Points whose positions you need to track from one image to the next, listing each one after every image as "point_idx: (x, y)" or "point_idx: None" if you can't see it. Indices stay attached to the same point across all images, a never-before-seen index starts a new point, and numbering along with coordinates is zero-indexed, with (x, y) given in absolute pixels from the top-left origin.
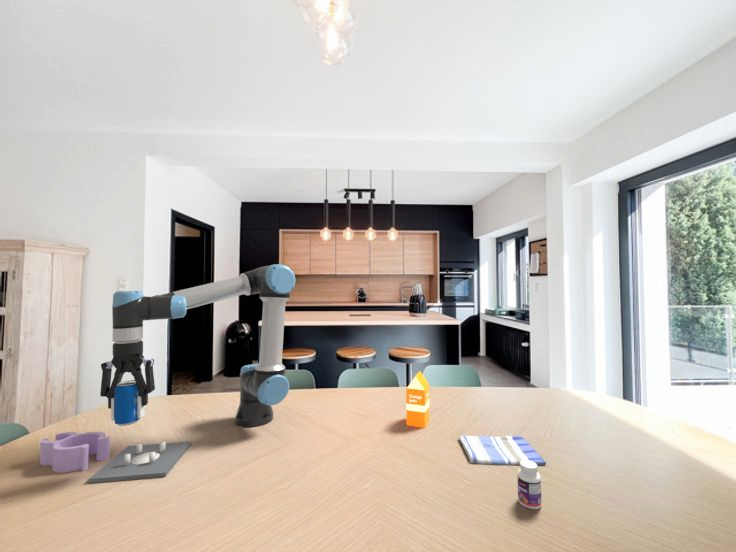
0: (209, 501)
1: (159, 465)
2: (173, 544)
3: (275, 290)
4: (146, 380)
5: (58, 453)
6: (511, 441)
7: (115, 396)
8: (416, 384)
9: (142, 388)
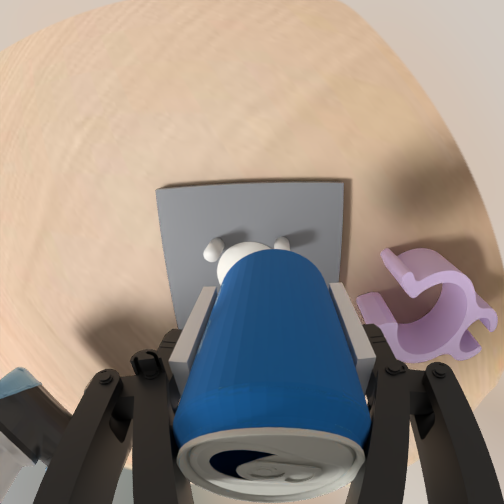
0: (53, 105)
1: (189, 228)
2: (76, 16)
3: None
4: (83, 445)
5: (455, 268)
6: None
7: (339, 353)
8: None
9: (137, 404)
